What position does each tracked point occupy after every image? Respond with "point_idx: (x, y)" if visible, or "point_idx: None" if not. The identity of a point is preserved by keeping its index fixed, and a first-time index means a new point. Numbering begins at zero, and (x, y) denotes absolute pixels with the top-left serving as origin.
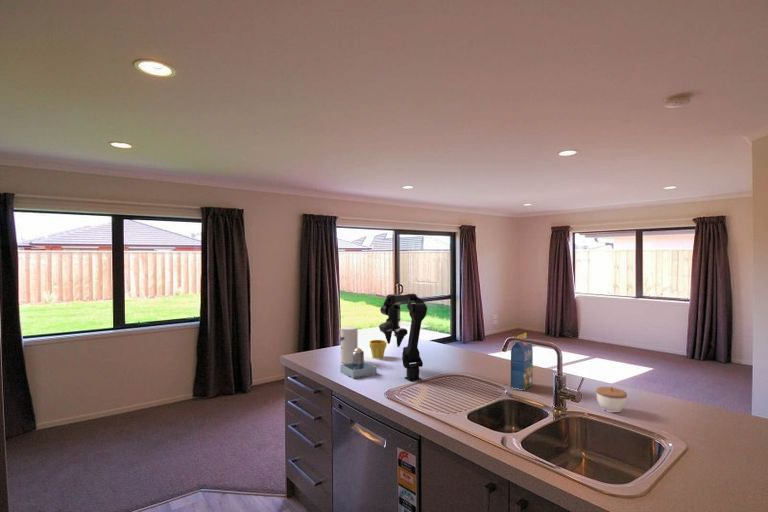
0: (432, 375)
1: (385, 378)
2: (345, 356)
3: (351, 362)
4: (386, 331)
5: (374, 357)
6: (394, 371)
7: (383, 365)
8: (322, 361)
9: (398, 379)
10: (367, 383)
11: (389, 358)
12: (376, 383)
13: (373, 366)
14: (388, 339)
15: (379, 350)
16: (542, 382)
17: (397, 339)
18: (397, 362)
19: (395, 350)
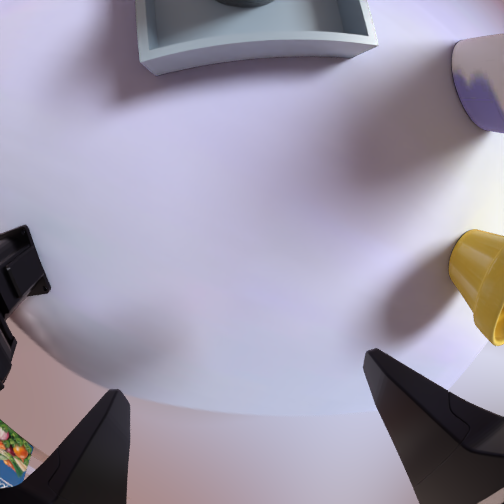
0: (64, 361)
1: (55, 113)
2: (485, 37)
3: (454, 64)
4: (489, 495)
5: (469, 233)
6: (167, 225)
7: (340, 215)
8: (493, 8)
9: (22, 186)
10: (40, 8)
11: (424, 304)
12: (17, 51)
13: (174, 45)
14: (396, 404)
15: (479, 274)
16: (39, 459)
17: (43, 471)
18: (345, 319)
19: (467, 354)
